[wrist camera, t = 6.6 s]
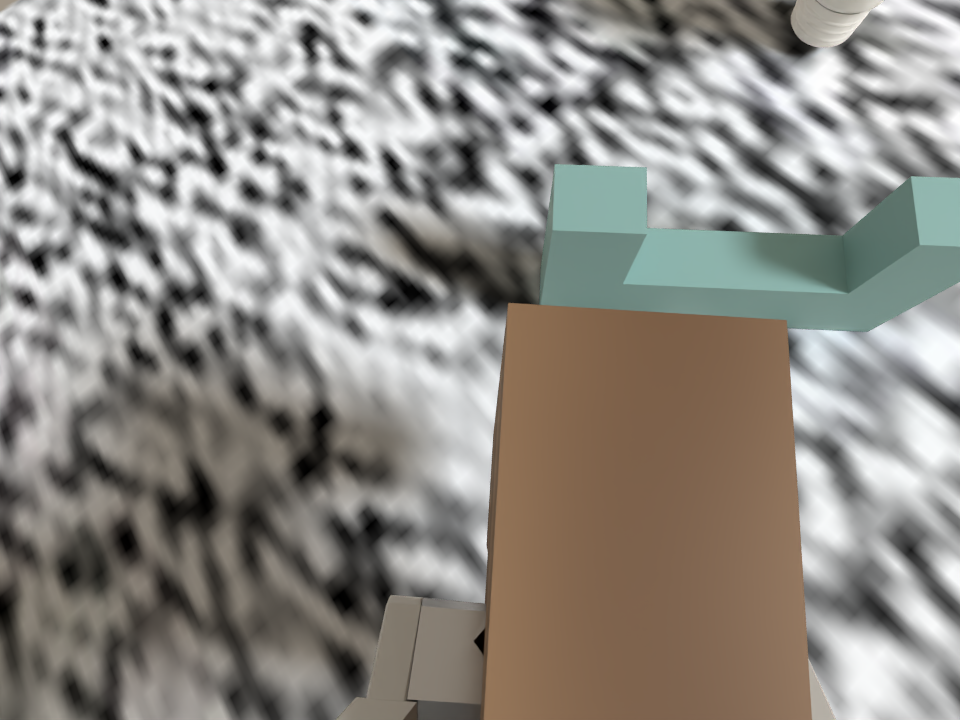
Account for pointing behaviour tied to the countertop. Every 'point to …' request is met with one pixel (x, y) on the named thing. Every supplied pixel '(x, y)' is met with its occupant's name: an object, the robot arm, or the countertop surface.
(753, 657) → the brown arch block
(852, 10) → the lightbulb
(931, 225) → the teal bracket
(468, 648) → the robot arm
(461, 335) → the countertop surface
